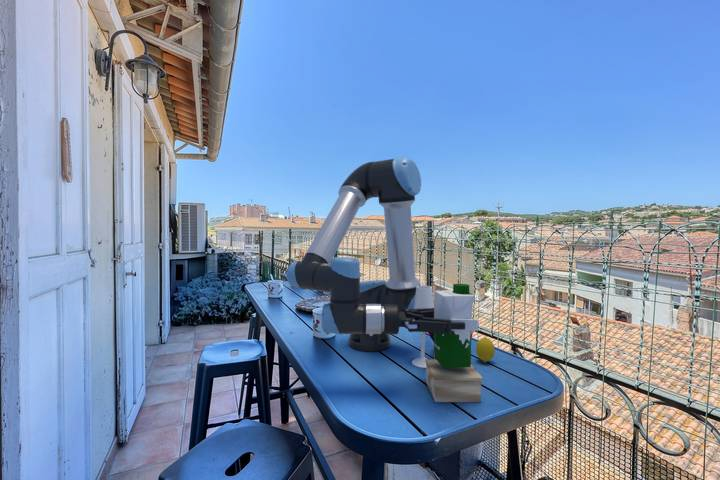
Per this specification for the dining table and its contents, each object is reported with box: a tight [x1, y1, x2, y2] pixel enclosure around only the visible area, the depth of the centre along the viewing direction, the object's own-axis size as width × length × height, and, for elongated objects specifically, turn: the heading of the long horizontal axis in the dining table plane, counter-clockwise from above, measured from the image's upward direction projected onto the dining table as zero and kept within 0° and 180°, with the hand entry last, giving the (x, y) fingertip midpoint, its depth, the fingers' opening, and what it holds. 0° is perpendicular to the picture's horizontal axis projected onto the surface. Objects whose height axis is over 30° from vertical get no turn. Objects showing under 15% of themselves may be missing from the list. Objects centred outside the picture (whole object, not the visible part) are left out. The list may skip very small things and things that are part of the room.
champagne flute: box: [411, 285, 434, 369], centre depth 102 cm, size 7×7×24 cm
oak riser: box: [425, 358, 484, 403], centre depth 85 cm, size 12×12×6 cm
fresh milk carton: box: [433, 283, 475, 368], centre depth 84 cm, size 9×9×20 cm
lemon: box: [475, 336, 496, 363], centre depth 104 cm, size 6×6×8 cm
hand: (470, 320), depth 84 cm, fingers closed on fresh milk carton, 9 cm apart
